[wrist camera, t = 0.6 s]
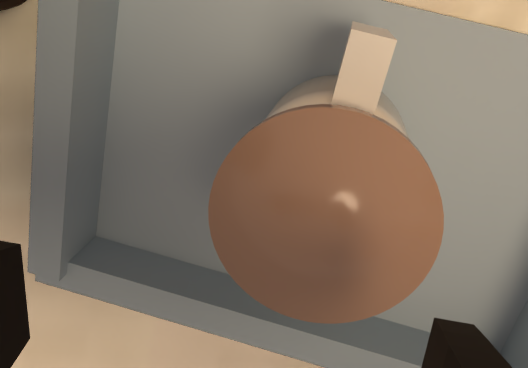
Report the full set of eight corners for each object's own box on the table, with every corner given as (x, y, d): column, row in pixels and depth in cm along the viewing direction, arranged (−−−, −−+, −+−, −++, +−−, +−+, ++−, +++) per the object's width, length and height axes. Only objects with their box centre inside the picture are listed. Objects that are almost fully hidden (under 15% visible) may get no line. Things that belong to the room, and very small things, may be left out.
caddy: (695, 47, 14) (776, 60, 12) (516, 378, 19) (543, 443, 16) (97, -92, 16) (42, -111, 13) (71, 248, 21) (26, 288, 18)
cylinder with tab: (453, 43, 15) (512, 72, 9) (385, 234, 18) (399, 349, 12) (286, 3, 15) (246, 7, 10) (243, 195, 18) (191, 288, 12)
